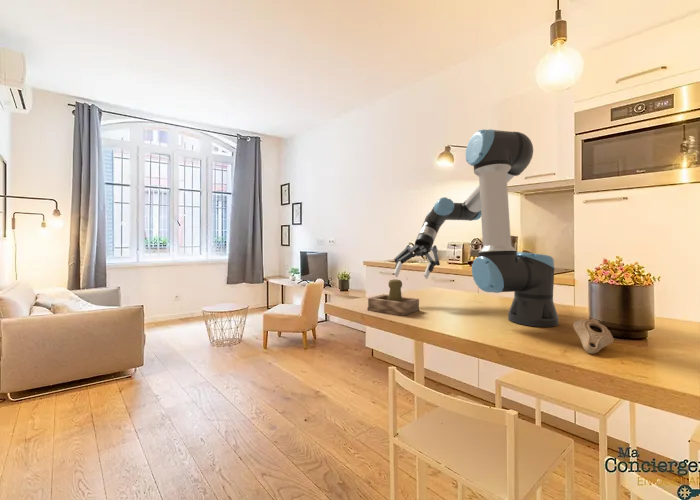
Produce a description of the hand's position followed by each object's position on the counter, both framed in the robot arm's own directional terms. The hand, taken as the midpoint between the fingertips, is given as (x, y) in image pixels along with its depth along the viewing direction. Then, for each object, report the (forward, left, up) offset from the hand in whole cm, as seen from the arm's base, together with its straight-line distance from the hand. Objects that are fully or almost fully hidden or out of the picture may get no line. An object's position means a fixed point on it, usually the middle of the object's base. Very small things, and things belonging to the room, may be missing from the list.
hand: (410, 275), depth 144 cm
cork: (0, +12, -11) cm, 17 cm away
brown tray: (+1, +12, -12) cm, 17 cm away
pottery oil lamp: (-63, +20, -12) cm, 67 cm away
